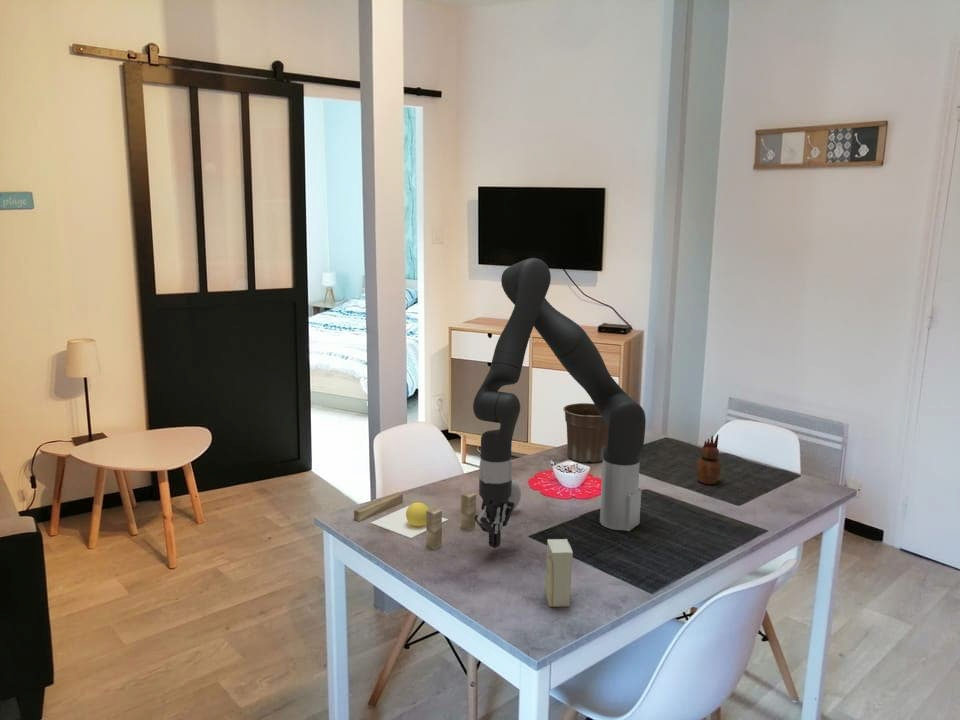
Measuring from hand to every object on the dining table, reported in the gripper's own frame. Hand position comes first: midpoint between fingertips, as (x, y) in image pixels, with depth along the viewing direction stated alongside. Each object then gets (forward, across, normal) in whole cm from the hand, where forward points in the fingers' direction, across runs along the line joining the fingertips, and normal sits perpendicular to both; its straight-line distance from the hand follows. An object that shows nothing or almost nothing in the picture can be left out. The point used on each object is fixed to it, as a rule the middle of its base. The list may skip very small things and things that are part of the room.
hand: (494, 546), depth 176 cm
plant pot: (+2, -73, -17) cm, 75 cm away
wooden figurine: (+2, -76, +22) cm, 79 cm away
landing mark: (+2, 0, -27) cm, 27 cm away
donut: (+2, -19, -11) cm, 22 cm away
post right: (+2, -6, -13) cm, 15 cm away
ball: (-2, 0, -24) cm, 24 cm away
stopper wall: (+2, 0, -38) cm, 38 cm away
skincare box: (+2, +9, +23) cm, 25 cm away
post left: (+2, +6, -13) cm, 15 cm away
